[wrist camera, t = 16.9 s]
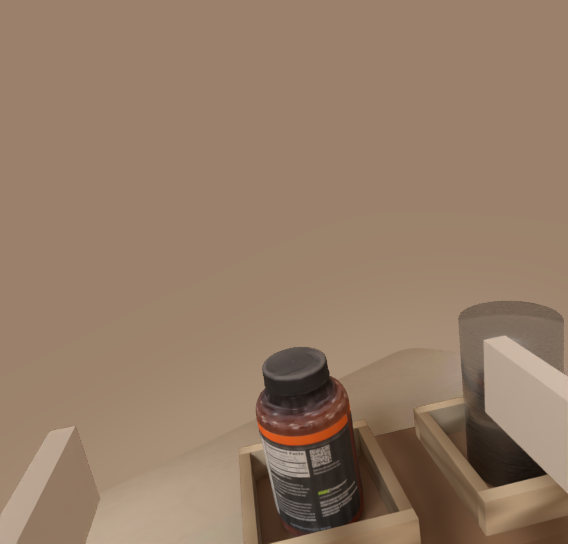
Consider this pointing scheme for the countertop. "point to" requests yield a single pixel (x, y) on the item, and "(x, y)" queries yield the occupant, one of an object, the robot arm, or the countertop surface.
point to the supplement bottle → (309, 443)
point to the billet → (478, 424)
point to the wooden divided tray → (417, 492)
